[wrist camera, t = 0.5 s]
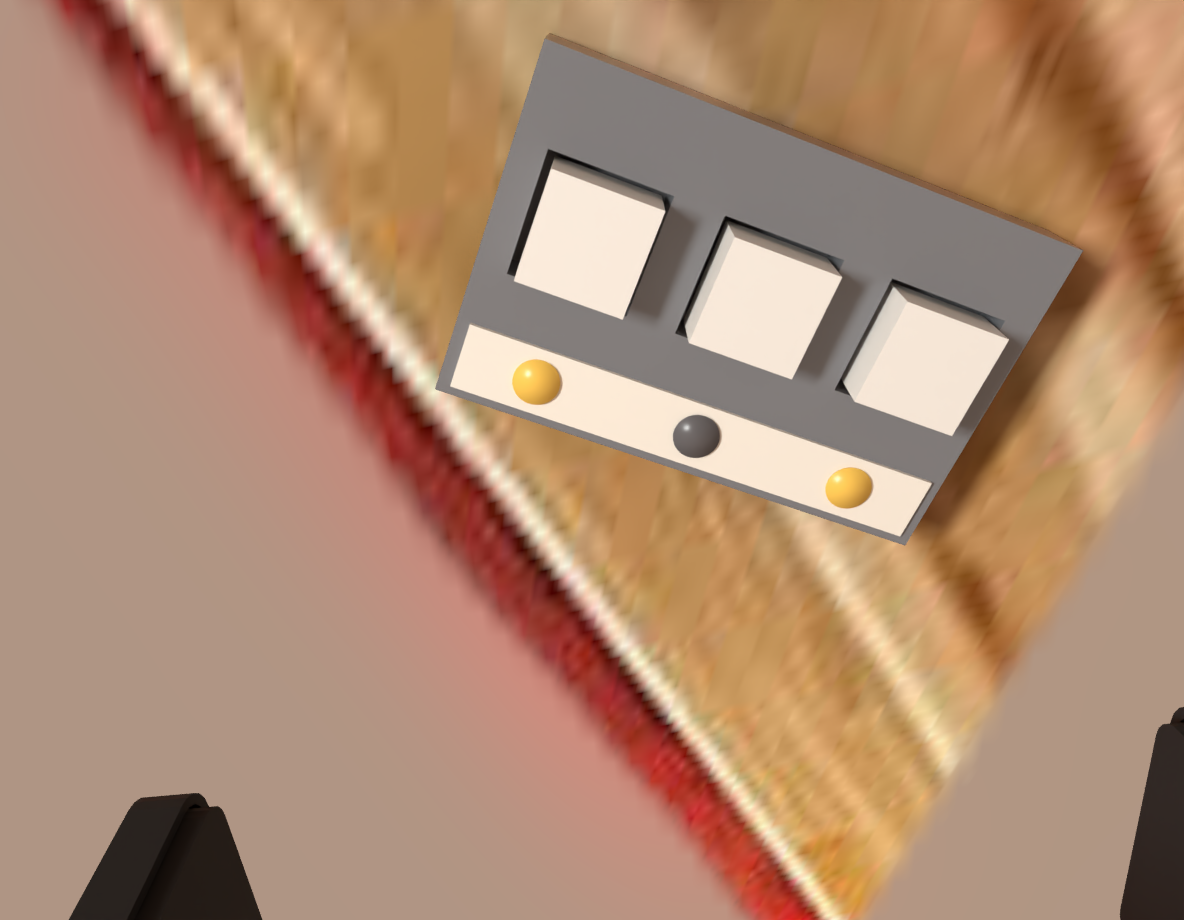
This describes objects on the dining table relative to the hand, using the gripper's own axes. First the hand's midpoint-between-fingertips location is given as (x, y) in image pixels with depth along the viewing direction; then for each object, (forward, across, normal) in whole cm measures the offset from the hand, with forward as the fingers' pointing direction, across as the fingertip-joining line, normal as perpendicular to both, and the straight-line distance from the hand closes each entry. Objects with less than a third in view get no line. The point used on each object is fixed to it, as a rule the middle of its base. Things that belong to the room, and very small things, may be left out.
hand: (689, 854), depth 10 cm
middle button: (+28, -5, +2) cm, 28 cm away
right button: (+28, -11, +5) cm, 30 cm away
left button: (+28, +1, 0) cm, 28 cm away
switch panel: (+30, -5, +3) cm, 30 cm away
